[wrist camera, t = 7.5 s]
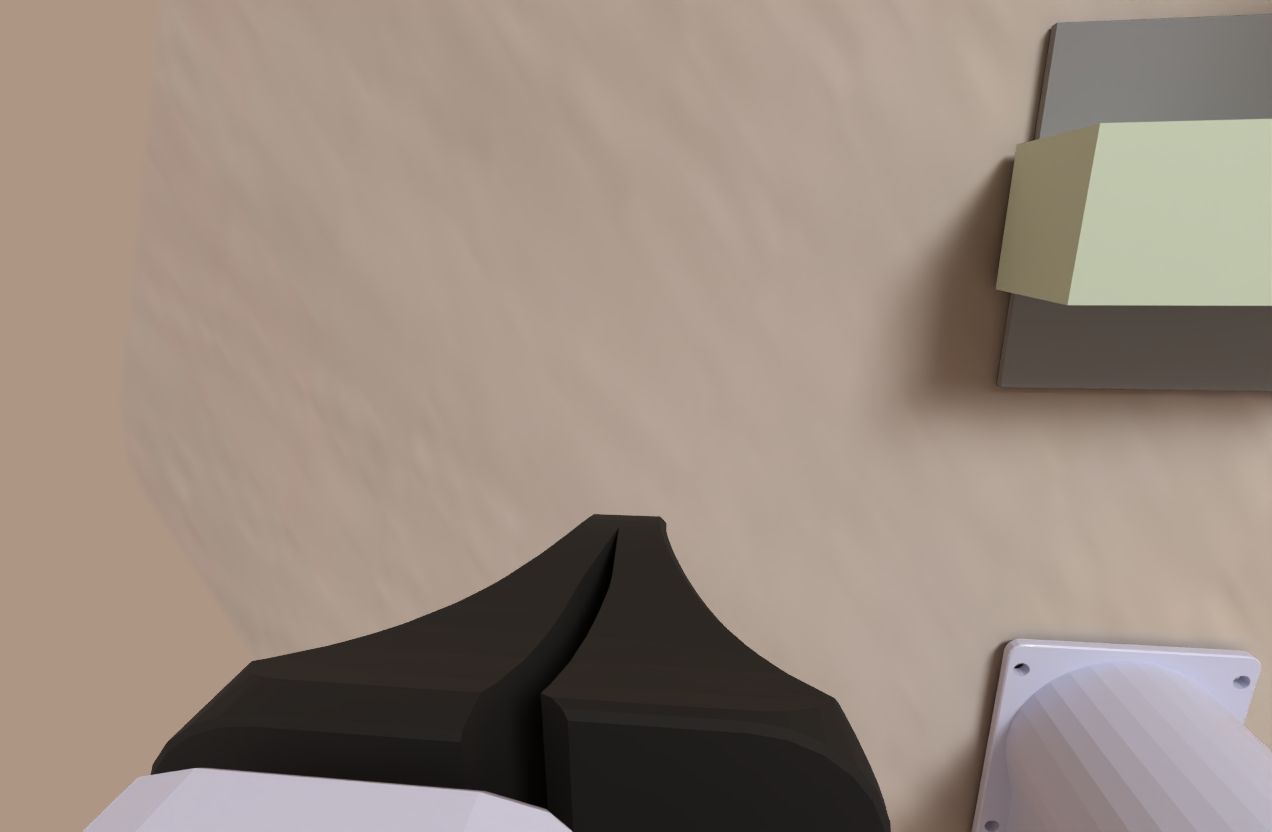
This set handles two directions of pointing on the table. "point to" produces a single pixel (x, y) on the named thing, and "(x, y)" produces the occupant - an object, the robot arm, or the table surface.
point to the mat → (1146, 92)
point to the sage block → (1143, 215)
